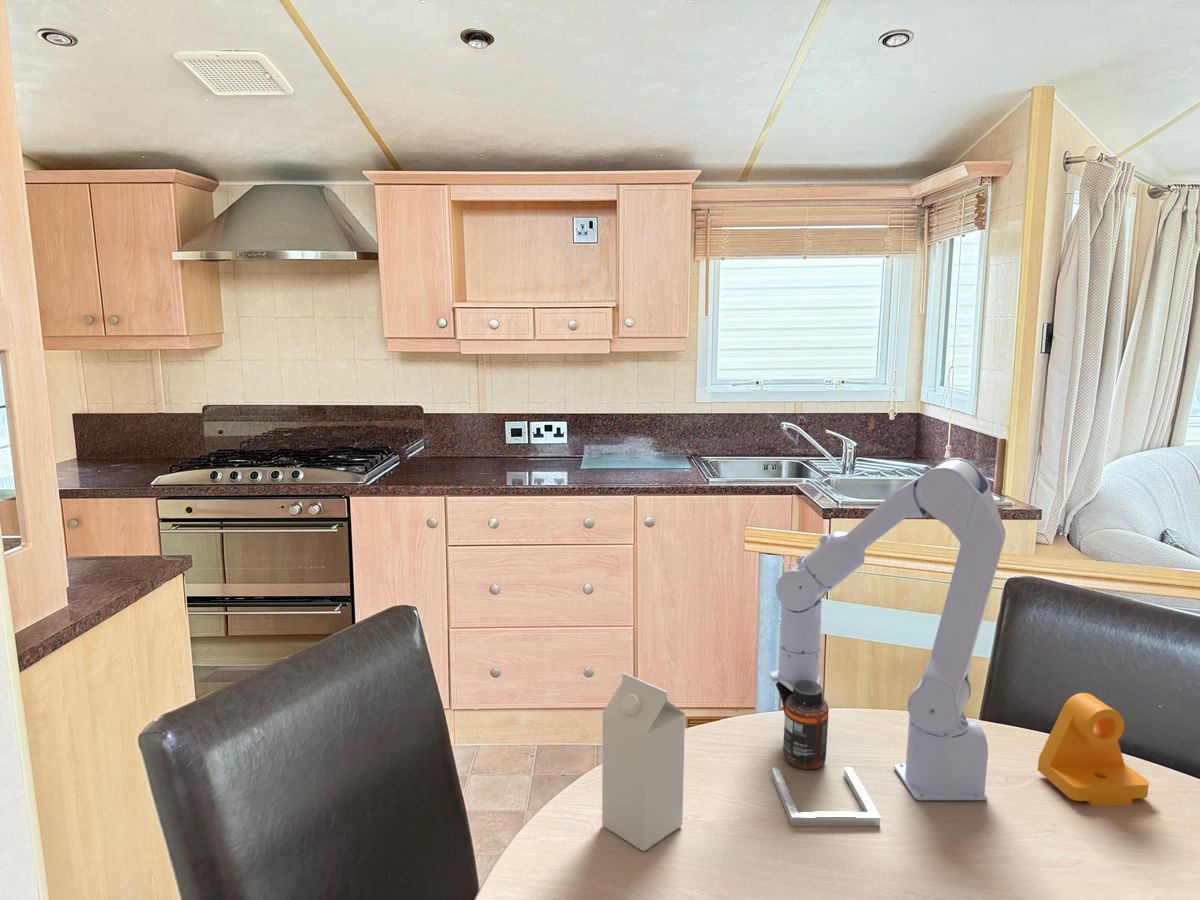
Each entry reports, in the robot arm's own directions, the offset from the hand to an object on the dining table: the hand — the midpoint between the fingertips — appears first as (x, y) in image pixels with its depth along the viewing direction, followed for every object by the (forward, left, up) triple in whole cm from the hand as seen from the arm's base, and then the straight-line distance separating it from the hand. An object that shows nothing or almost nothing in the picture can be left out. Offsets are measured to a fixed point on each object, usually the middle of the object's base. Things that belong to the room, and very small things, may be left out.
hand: (795, 732), depth 117 cm
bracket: (-37, +12, -2) cm, 39 cm away
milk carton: (+24, +20, -2) cm, 31 cm away
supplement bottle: (0, +5, -1) cm, 5 cm away
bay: (0, +14, -1) cm, 14 cm away
